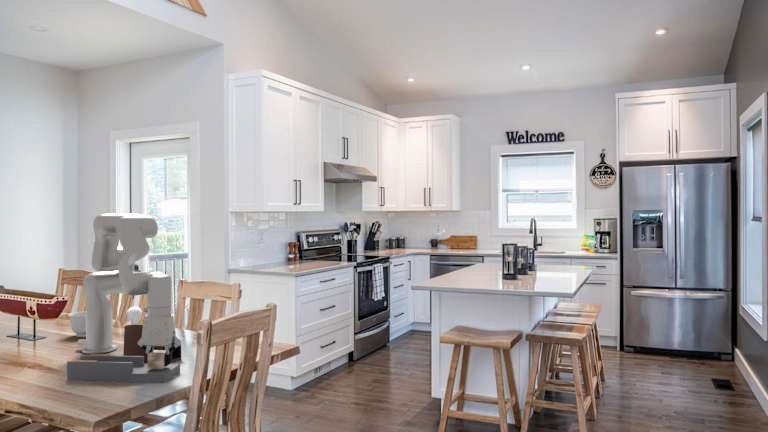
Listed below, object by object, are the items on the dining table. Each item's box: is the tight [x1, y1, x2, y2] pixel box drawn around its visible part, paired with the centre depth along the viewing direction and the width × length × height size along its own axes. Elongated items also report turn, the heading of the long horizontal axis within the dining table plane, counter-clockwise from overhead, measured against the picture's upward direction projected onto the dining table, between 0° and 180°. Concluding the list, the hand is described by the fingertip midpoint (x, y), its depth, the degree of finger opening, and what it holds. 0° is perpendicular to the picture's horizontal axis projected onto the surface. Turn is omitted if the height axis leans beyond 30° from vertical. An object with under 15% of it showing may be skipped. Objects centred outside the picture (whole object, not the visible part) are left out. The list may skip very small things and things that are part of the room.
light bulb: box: [126, 306, 143, 325], centre depth 261 cm, size 7×7×11 cm
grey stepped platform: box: [66, 353, 181, 384], centre depth 188 cm, size 34×12×6 cm, turn 87°
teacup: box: [67, 310, 86, 338], centre depth 248 cm, size 12×15×10 cm
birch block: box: [148, 350, 167, 369], centre depth 187 cm, size 5×5×5 cm
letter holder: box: [122, 324, 182, 365], centre depth 209 cm, size 10×20×14 cm, turn 65°
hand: (159, 364), depth 187 cm, fingers closed on birch block, 5 cm apart
